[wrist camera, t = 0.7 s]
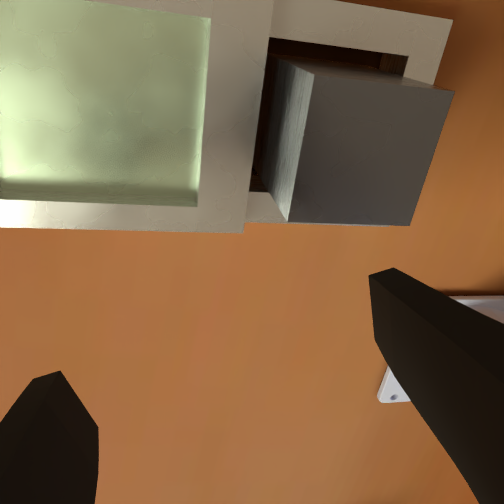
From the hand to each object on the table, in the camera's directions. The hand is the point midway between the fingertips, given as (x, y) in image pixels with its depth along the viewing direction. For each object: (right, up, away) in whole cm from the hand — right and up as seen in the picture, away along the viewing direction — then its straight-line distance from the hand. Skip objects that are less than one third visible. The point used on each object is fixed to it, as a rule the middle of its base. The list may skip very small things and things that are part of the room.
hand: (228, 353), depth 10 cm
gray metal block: (+3, +8, +8) cm, 11 cm away
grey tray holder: (-1, +8, +7) cm, 11 cm away
